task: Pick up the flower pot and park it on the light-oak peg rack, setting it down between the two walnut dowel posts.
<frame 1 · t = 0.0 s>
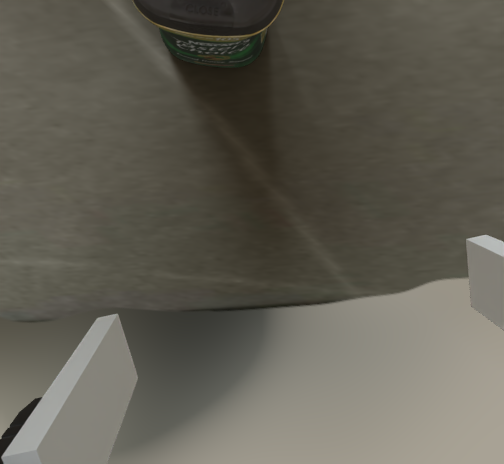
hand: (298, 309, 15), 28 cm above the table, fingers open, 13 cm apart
coffee jar: (215, 25, 39), on the table
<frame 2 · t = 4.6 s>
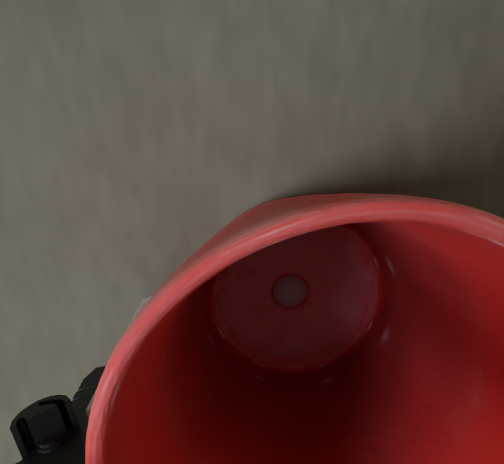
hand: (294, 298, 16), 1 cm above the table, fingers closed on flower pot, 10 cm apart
flower pot: (290, 283, 18), on the table, touching gripper
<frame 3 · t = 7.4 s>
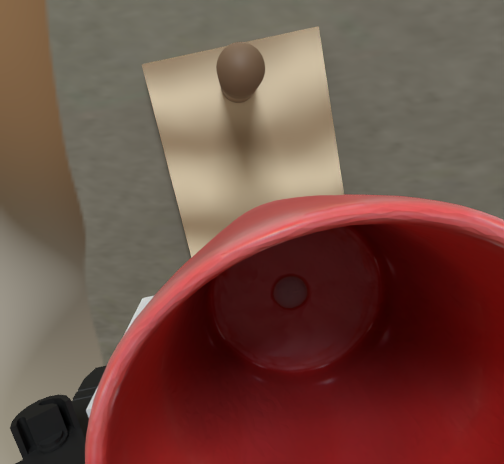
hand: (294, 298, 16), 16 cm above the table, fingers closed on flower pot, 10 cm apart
rack: (263, 213, 32), on the table
flower pot: (290, 284, 18), point 15 cm above the table, touching gripper
when the fingers open (3 cm above the table, at t = 10.4 s): flower pot moves 2 cm, resting on rack.
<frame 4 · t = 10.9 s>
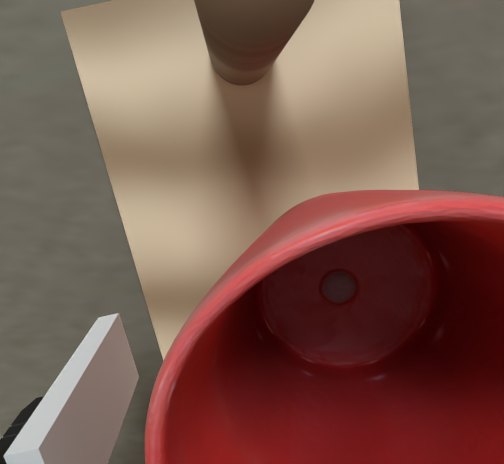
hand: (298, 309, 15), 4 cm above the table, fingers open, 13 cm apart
rack: (283, 274, 19), on the table
flower pot: (339, 279, 17), point 2 cm above the table, touching gripper, rack
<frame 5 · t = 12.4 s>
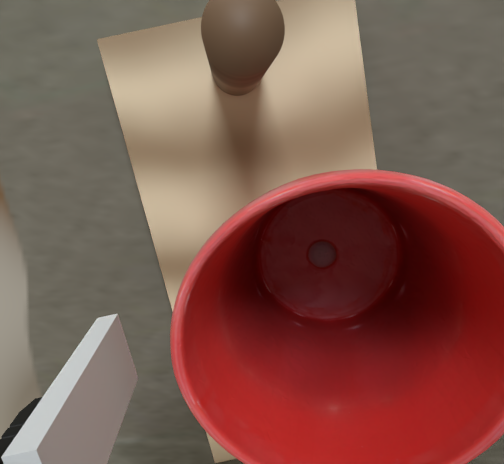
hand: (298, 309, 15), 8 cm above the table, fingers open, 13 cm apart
rack: (271, 248, 23), on the table
flower pot: (324, 249, 22), point 2 cm above the table, touching gripper, rack
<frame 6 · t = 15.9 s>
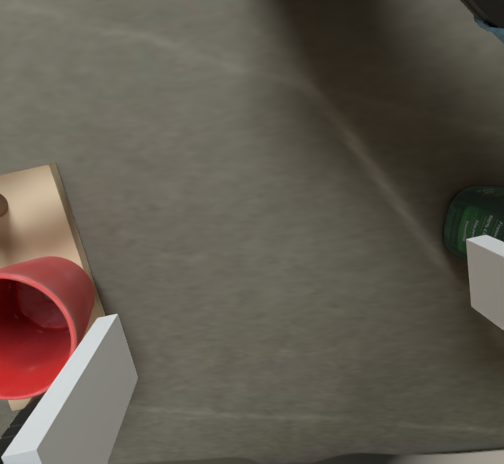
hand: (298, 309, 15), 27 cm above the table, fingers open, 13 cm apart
rack: (36, 291, 42), on the table
coffee jar: (484, 222, 43), on the table
flower pot: (56, 291, 41), point 1 cm above the table, touching rack
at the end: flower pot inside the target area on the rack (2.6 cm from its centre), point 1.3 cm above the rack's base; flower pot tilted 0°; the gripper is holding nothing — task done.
